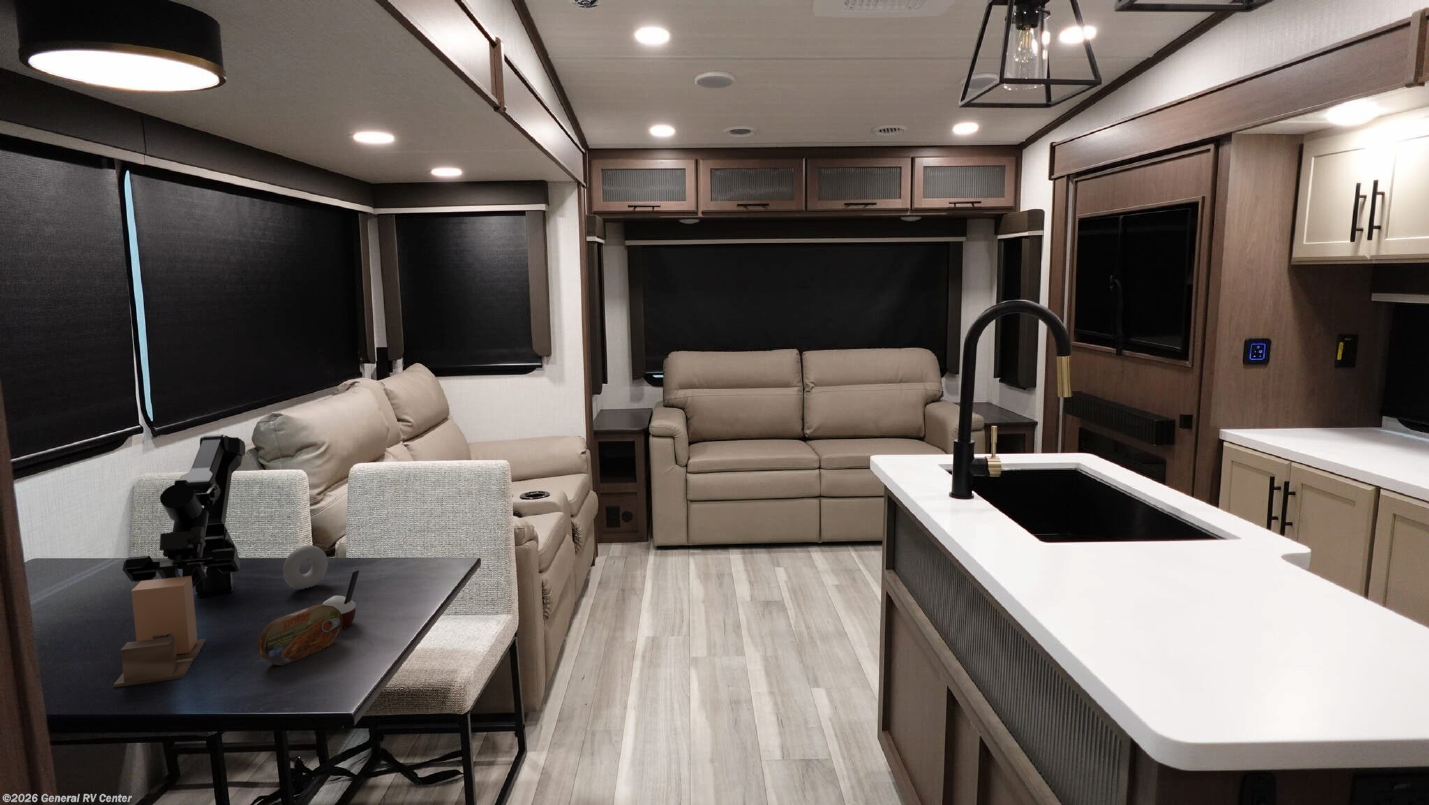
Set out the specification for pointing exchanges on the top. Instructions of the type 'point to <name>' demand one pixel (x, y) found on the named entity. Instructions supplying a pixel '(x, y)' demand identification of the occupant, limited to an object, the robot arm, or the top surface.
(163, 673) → the pipe stand
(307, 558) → the donut
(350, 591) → the cocoa
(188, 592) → the rectangular block
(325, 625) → the tin
